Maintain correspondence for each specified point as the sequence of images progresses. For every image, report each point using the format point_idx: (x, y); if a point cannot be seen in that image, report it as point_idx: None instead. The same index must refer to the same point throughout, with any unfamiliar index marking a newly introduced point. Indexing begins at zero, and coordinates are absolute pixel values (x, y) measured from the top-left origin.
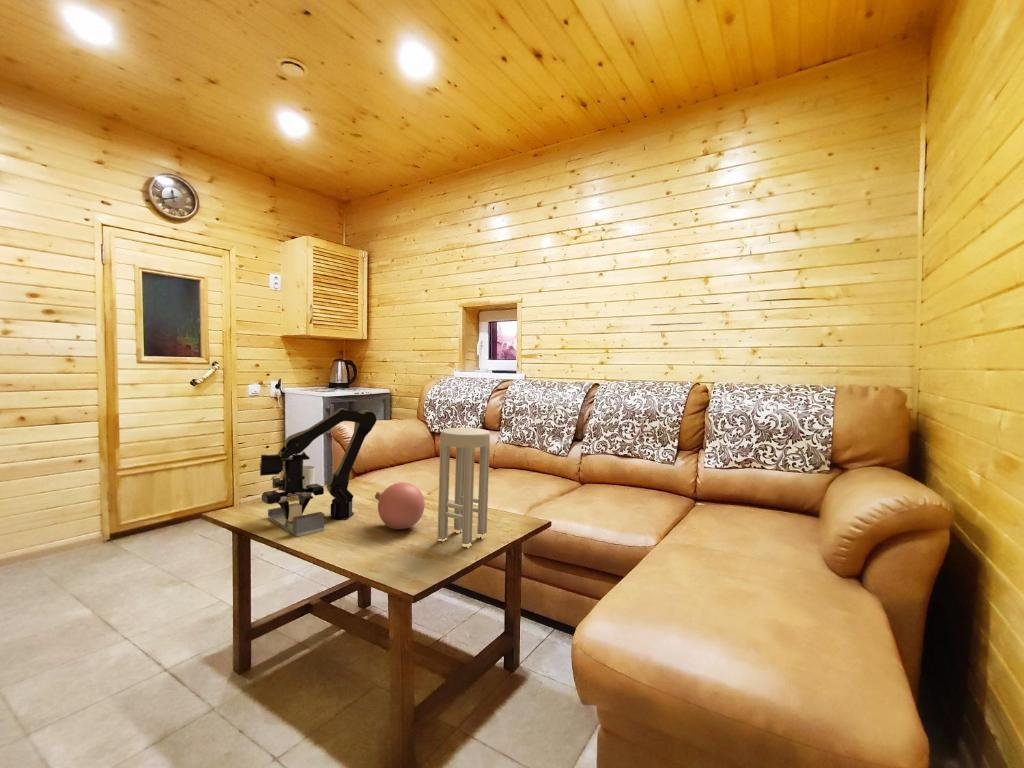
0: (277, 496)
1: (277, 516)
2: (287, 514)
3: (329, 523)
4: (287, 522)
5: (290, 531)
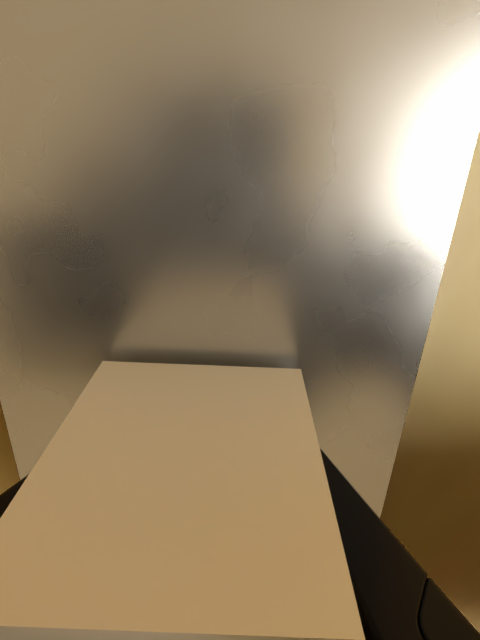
0: None
1: (37, 81)
2: None
3: None
4: None
5: None
